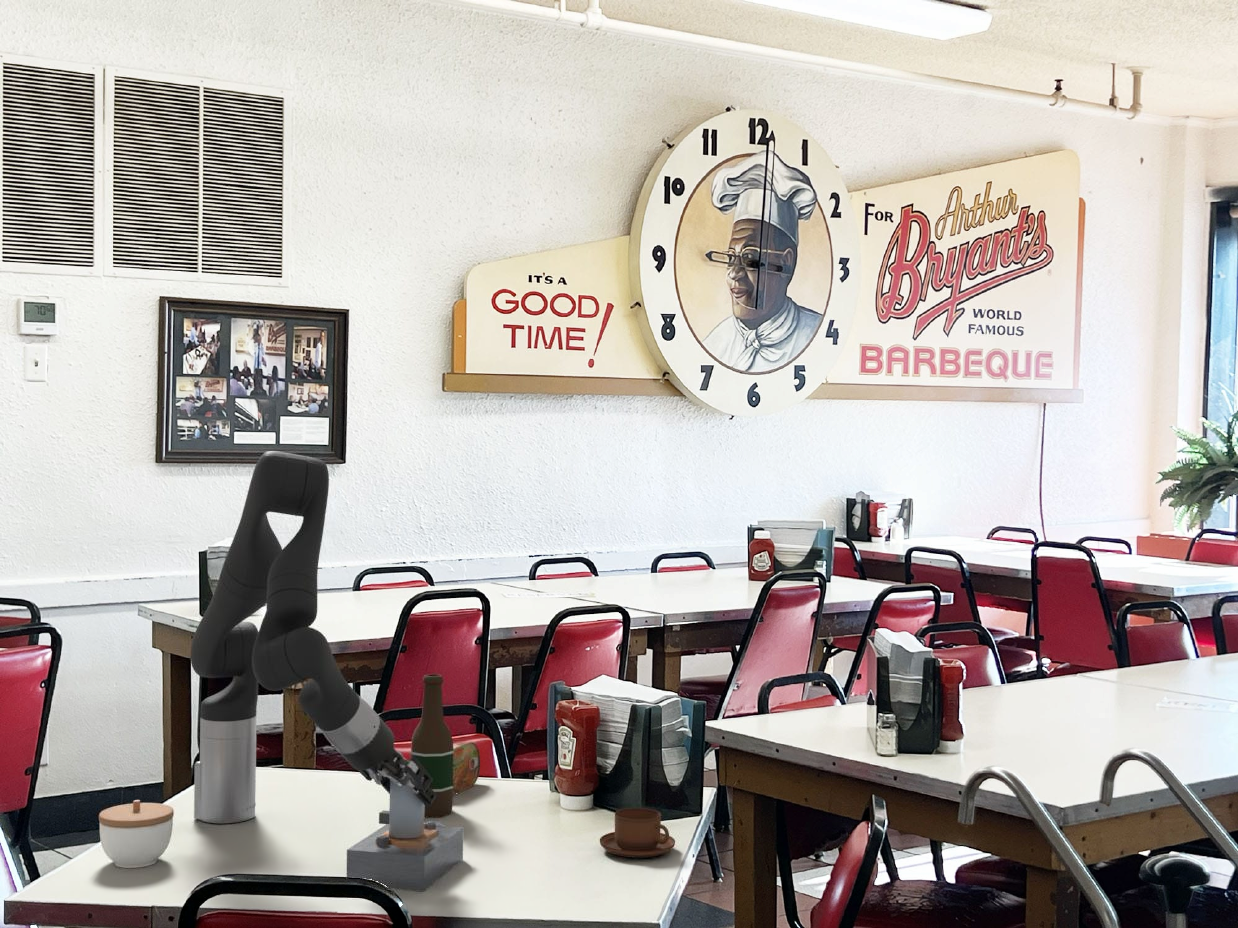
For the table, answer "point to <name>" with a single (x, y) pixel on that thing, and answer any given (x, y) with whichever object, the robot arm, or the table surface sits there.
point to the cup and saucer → (638, 834)
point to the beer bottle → (435, 747)
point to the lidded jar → (136, 833)
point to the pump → (403, 812)
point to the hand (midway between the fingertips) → (415, 797)
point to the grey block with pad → (407, 857)
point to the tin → (465, 766)
